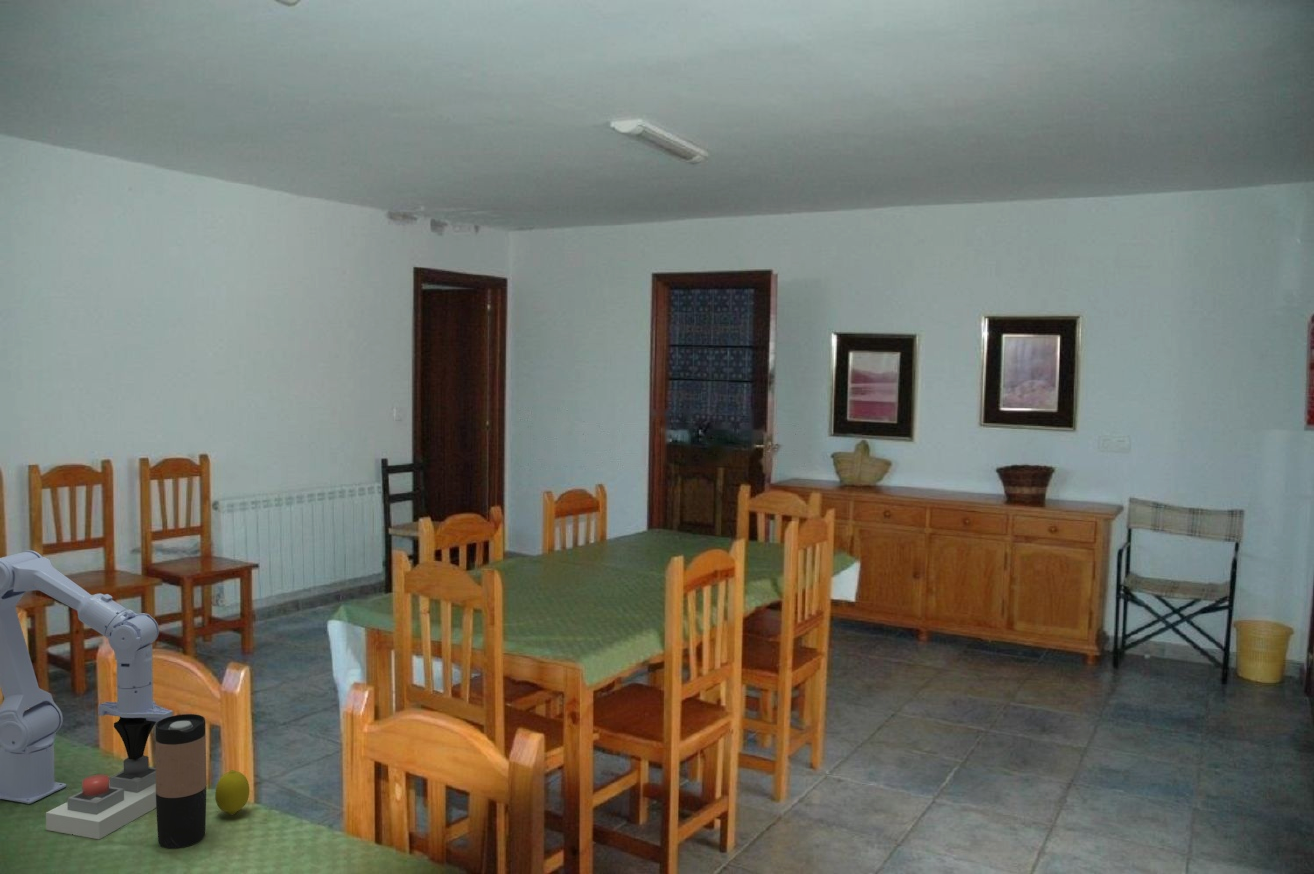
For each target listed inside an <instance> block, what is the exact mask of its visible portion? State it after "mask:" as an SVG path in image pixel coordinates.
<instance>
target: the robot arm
mask: <svg viewBox="0 0 1314 874" xmlns="http://www.w3.org/2000/svg"><path fill="white" fill-rule="evenodd" d="M30 591H31V592H32V591H39V592H41V593H43V594H46V595H47V596H49V597H51V598H53V599H54V600H56V601H58V602H60V603H62V604H64V605H66V606H68V607H69V608H72V609H74V610H75V611H76V612H77V619H78V620H79V621H80V622H82V623H83V624H84V625H86V626H87V627H89V628H91V629H93V630H94V631H95V632H97V633H99V634H100V635H102V636H103V637H105V638H107V639H108V644H109V647H110V648H111V649H112V650H113V652H114V660H116V701H105V702H102V703H100V704H98V706H97V707H98V712H97V715H98V716H101V717H103V716H114V717H119V719H118V721H115V722H114V723H113V728H114V729H115V730H116V731H117V733H118V735H119V737H120V738H121V740H122V743H123V745H124V748H125V751H126V755H127V758H129V759H132V760H136V759H138V758H140V757H142V756H143V755H144V754H145V750H146V746H147V742H148V739H149V737H150V734H151V732H152V731H153V728H154V726H156V724H157V722H158V721H160V720H162V719H164V718H167V717H170V716H174V711H173V710H171V709H167V708H164V707H161V706H159V705H157V704H156V701H154V690H153V689H154V680H153V679H154V677H153V676H154V675H153V672H154V670H153V668H154V667H153V644H152V643H154V642H155V641H156V640H157V639H158V637H159V634H160V631H159V630H160V628H159V624H158V622H157V620H156V619H155V618H153V617H152V616H151V615H150V614H149V613H147V612H146V613H144V612H143V613H136V612H135V611H134V610H132V609H127V608H126V607H124V606H123V605H121V604H120V603H118V602H116V600H113V596H112V595H110V594H109V593H106V594H103V593H100V592H99V593H95V594H90V593H89V592H88V591H86V589H84V588H83V587H81V586H80V585H78V584H77V583H75V582H74V581H73V580H71V579H70V578H69V577H67V576H66V575H65V574H63V573H62V572H60V571H59V570H58V569H57V568H55V567H54V566H53V565H52V562H51V560H50V558H47V557H45V556H43V555H41V554H40V553H39V552H37V551H35V550H30V549H28V550H24V551H21V552H18V553H15V554H11V555H7V556H3V557H0V689H1V693H2V695H3V701H2V703H1V705H0V800H6V801H11V802H16V803H23V804H33V803H35V802H36V801H39V800H42V799H43V798H45V797H47V796H49V795H52V794H53V793H56V792H58V791H60V790H62V789H65V788H66V787H67V783H64V782H58V781H56V780H55V739H57V736H56V733H57V732H58V731H59V730H60V729H61V727H62V726H63V722H64V721H63V720H64V717H63V716H64V715H63V712H62V711H61V709H60V707H59V706H58V705H57V704H56V703H55V701H54V698H53V696H52V693H50V692H48V691H46V690H45V689H42V688H40V687H39V683H38V680H37V676H36V673H35V670H34V666H33V663H32V659H31V656H30V652H29V648H28V646H27V642H26V639H25V636H24V633H23V629H22V626H21V622H20V619H19V615H18V611H17V609H16V607H17V605H18V603H19V601H21V599H22V598H23V596H24V595H25V593H26V592H30Z"/></svg>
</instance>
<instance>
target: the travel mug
mask: <svg viewBox="0 0 1314 874" xmlns="http://www.w3.org/2000/svg"><path fill="white" fill-rule="evenodd" d="M206 736H207V735H206V718H205V717H204V716H202V715H200V714H197V713H196V714H194V713H193V714H192V713H184V714H177V715H176V714H175V715H173V716H170V717H167V718H164V719H162V720H160V721H158V722H156V723H155V768H156V808H155V809H156V810H155V811H156V827H157V829H156V830H157V842H158V845H159V846H161V847H162V848H166V849H182V848H187V847H189V846H193V845H195V844H198V843H199V842H201V841H202V840H203V839H204V838H205V836H206V827H207V826H206V822H207V821H206V820H207V819H206V818H207V817H206V815H207V814H206V813H207V784H208V783H207V748H206V747H207V744H206V741H207V739H206Z"/></svg>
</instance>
